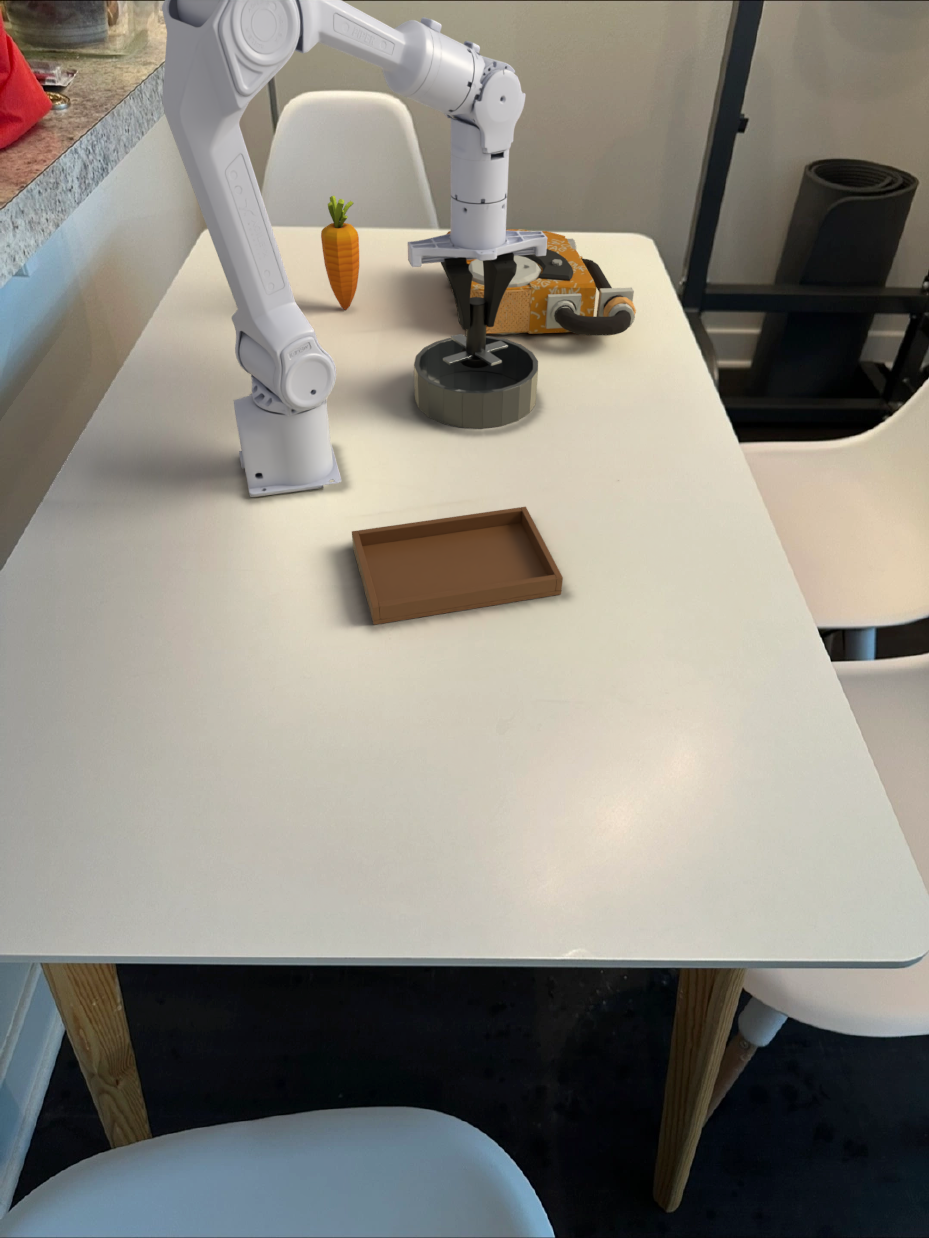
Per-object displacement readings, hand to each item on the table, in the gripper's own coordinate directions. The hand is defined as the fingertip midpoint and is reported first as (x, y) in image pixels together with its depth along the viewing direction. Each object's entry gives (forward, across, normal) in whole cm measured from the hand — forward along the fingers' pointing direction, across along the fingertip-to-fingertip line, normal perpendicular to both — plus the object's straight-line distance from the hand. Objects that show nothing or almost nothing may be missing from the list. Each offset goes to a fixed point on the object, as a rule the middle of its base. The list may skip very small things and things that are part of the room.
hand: (476, 324), depth 101 cm
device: (+10, +14, +23) cm, 29 cm away
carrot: (+10, -10, +30) cm, 34 cm away
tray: (+10, -10, -29) cm, 32 cm away
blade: (+4, 0, 0) cm, 4 cm away
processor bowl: (+10, 0, +1) cm, 10 cm away
